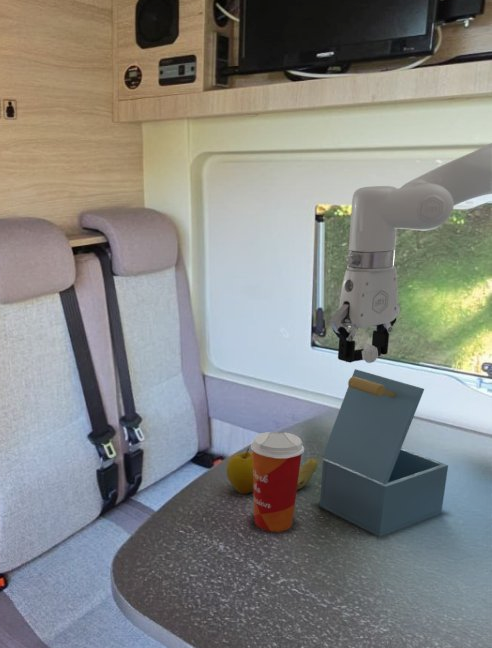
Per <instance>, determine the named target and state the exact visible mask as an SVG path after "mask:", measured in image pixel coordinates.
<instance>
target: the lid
mask: <svg viewBox="0 0 492 648" xmlns="http://www.w3.org/2000/svg"><path fill="white" fill-rule="evenodd" d="M352 373H353V374H352V376H351V377H350V378H349V379H348V382H347V386H348V387H347V389H346V392H345V395H344V397H343V399H342V402H341V405H340V408H339V410H338V413H337V416H336V418H335V420H334V424H333V426H332V429H331V431H330V434H329V437H328V439H327V443H326V445H325V448H324V450H323V454H322V455H321V457H322V458H323V459H324V460H325V459H328V460H330V461H332V462H335V463H337V464H339V465H342V466H344V467H346V468H348V469H351V470H353V471H355V472H358V473H360V474H362V475H365V476H367V477H369V478H371V479H374V480H376V481H378V482H381V483H383V484H387V483H388V480H389V478H390V475H391V473H392V470H393V468H394V465H395V463H396V460H397V458H398V455H399V452H400V450H401V448H403V445H404V442H405V439H406V437H407V434H408V432H409V429H410V426H411V424H412V422H413V419H414V418H415V414H416V411H417V409H418V406H419V404H420V401H421V399H422V397H423V394H424V391H425V388H423V387H419V386H416V385H414V384H410V383H405V382H402V381H398V380H395V379H391V378H388V377H384V376H380V375H379V374H375V373H374V374H373V373H370V372H367V371H364V370H359V369H354V370H353V372H352Z"/></svg>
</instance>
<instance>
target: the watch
mask: <svg viewBox="0 0 492 648" xmlns="http://www.w3.org/2000/svg"><path fill="white" fill-rule="evenodd" d="M381 355H382V354H381V347H375V346H373V345H372V344H370V343H367V345H365V347H364V348H361V349H355V352H354V361H353V362H360V361H364V362H366V363H368V364H372V363H375V362H376V360H377V359H378V357H381ZM353 362H352V363H353Z"/></svg>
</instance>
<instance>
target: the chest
mask: <svg viewBox="0 0 492 648" xmlns="http://www.w3.org/2000/svg"><path fill="white" fill-rule="evenodd" d="M448 468H449V465H448V464H446V463H443V462H440V461H439V460H435V459H432V458H430V457H427V456H424V455H422V454H418V453H416V452H413V451H411V450H409V449H406V448H403V447H401V450H400V452H399V455H398V458H397V460H396V463H395V465H394V468H393V470H392V473H391V475H390V478H389V480H388V483H387V484H383V483H381V482H378V481H376V480H374V479H371V478H369V477H367V476H365V475H362V474H360V473H358V472H355V471H353V470H351V469H348V468H346V467H344V466H342V465H339V464H337V463H335V462H332V461H330V460H328V459H325V458H324V459H323V460H322V469H321V471H322V472H321V483H320V484H321V485H320V497H319V500H320V501H319V507H320V508H323V509H324V510H325V511H326V510H327V511H328V512H330V513H332V514H334V515H336V516H338V517H340V518H342V519H344V520H346V521H348V522H350V523H352V524H353V525H356V526H357V527H360V528H361V529H363V530H365V531H367V532H369V533H371V534H373V535H375V536H376V537H379V538H380V537H383V536H385V535H388V534H391V533H393V532H396V531H398V530H401V529H404V528H406V527H409V526H412V525H414V524H417V523H419V522H422V521H424V520H425V521H426V520H427V519H430V518H432V517H435V516H437V515H441V514H442V511H443V504H444V498H445V497H444V496H445V489H446V485H447V484H446V483H447V477H448V476H447V475H448V471H449V469H448Z"/></svg>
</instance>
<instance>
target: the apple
mask: <svg viewBox="0 0 492 648" xmlns="http://www.w3.org/2000/svg"><path fill="white" fill-rule="evenodd" d="M226 476H227V479H228V481H229V483H230V484H231V485H232V486H233V488H234V489H235V490H236V491H237V492H238V493H239V494H240V495H247V494H251V493H254V483H253V452H252V451H251V452H250V448H249V447H248V448H247V450H246V451H245V452H240V453H236V454H234V455H232V456H231V457H230V458H229V460H228V462H227V464H226Z"/></svg>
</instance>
